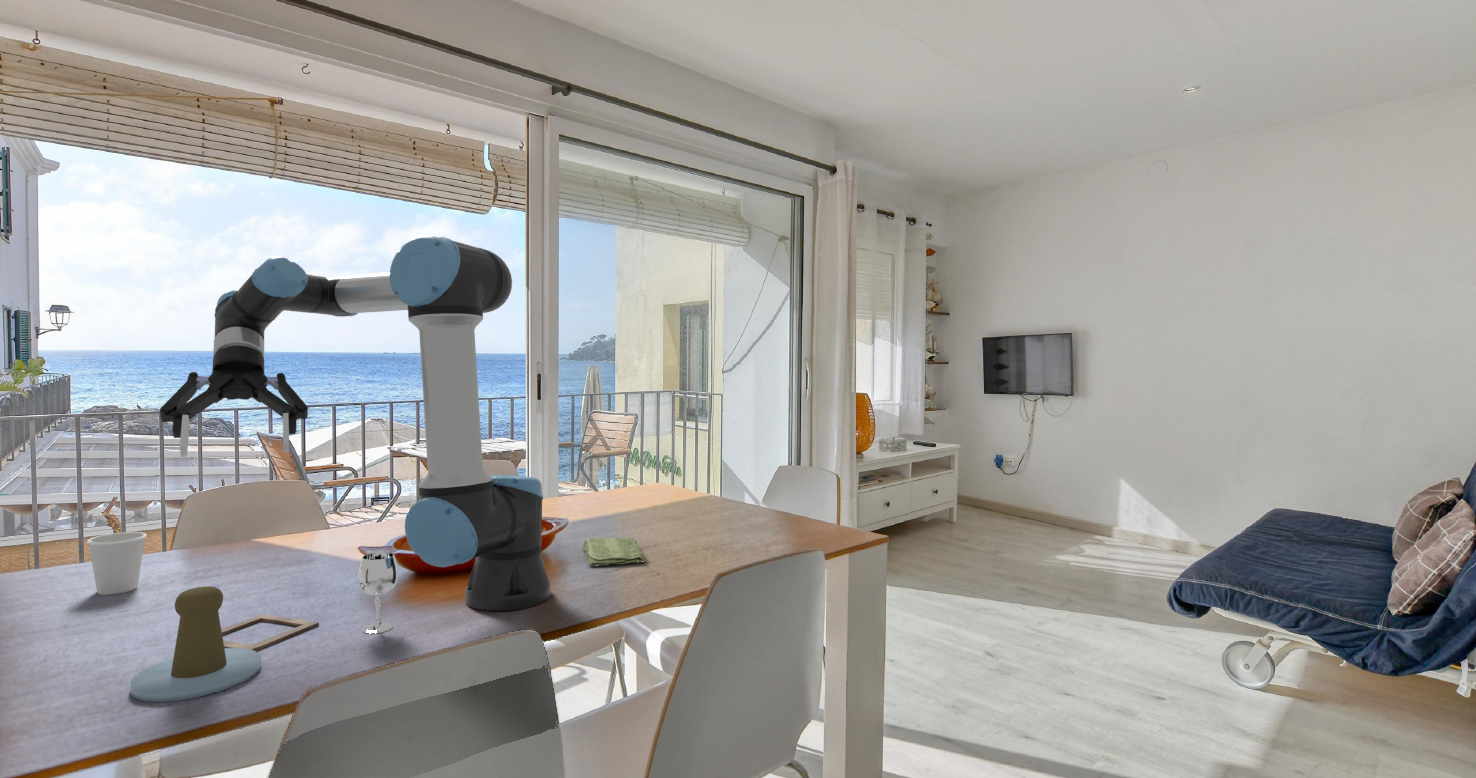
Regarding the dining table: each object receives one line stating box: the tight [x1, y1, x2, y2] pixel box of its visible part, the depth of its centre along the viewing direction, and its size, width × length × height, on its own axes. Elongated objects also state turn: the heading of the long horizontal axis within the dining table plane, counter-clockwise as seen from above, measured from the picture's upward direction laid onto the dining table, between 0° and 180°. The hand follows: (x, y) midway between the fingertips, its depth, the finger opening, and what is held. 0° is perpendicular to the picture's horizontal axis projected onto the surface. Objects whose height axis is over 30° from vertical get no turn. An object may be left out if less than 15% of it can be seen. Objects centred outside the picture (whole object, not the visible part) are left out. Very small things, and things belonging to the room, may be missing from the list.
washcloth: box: [581, 537, 646, 567], centre depth 159 cm, size 13×18×3 cm
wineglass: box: [357, 551, 399, 635], centre depth 112 cm, size 6×6×12 cm
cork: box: [171, 586, 227, 678], centre depth 94 cm, size 6×6×11 cm
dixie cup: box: [86, 531, 148, 596], centre depth 129 cm, size 8×8×10 cm
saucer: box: [130, 648, 262, 703], centre depth 94 cm, size 14×14×1 cm
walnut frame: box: [221, 613, 320, 652], centre depth 109 cm, size 12×12×1 cm
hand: (236, 449), depth 112 cm, fingers open, 13 cm apart
